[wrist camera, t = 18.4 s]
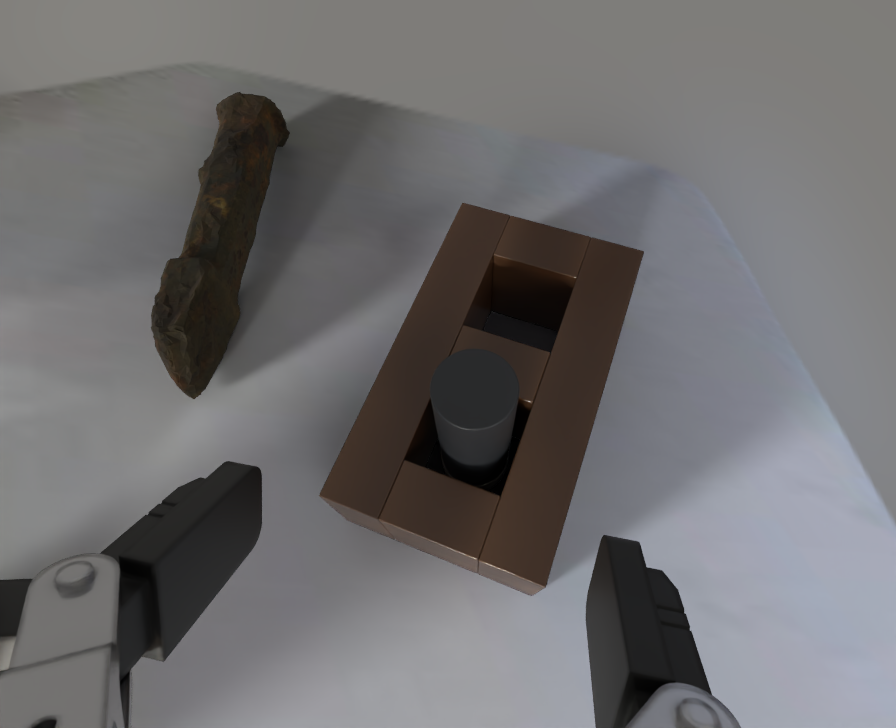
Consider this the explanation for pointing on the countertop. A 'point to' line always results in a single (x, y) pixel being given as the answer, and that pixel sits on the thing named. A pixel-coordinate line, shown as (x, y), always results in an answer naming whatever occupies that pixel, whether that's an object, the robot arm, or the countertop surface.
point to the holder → (539, 405)
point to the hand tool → (217, 243)
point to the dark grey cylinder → (475, 415)
